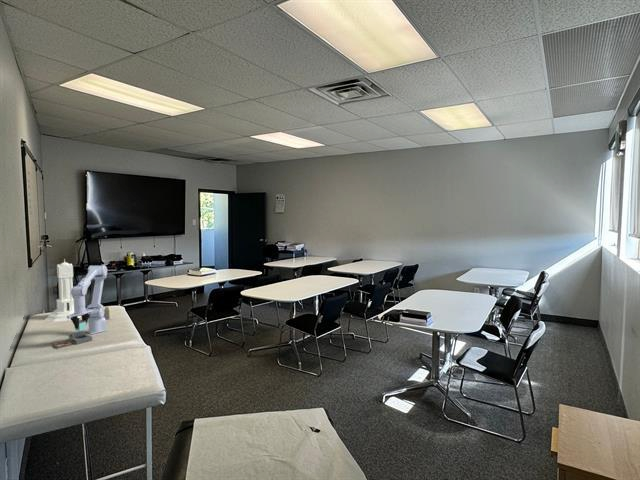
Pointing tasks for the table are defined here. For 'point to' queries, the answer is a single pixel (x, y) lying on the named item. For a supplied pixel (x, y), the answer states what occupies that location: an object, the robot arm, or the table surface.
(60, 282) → the white castle tower
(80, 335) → the port
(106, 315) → the ruin model on sheet
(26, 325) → the table surface
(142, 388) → the table surface
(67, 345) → the brown square frame
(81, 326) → the plug
